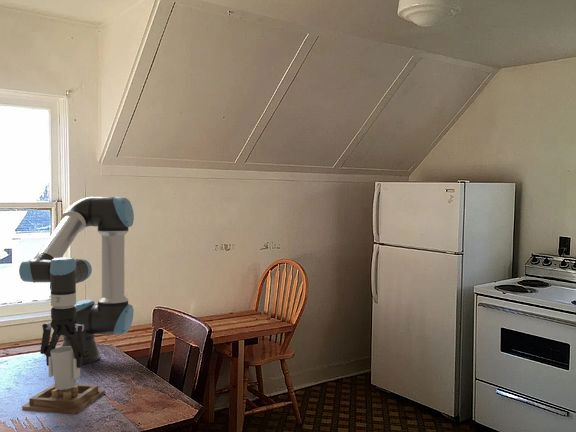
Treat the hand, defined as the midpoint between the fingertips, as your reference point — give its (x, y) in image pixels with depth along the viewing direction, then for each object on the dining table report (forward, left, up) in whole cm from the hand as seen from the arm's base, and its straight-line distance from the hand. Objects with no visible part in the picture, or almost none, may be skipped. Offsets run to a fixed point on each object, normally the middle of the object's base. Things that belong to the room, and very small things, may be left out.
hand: (64, 376), depth 185 cm
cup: (0, 0, -3) cm, 3 cm away
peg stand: (0, 0, -8) cm, 8 cm away
